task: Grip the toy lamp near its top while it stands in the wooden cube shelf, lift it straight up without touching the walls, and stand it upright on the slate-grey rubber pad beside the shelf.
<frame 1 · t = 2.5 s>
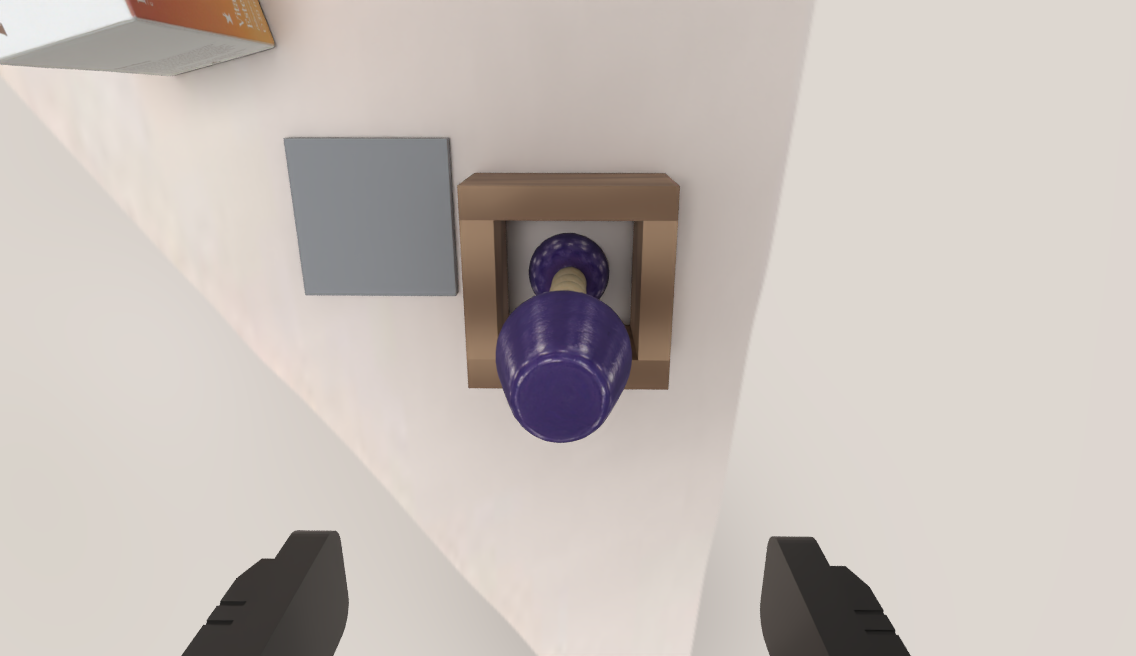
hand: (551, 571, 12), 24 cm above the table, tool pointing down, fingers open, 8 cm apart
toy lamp: (569, 265, 35), resting in wooden cube shelf
slate pad: (376, 218, 34), on the table
wooden cube shelf: (569, 266, 34), on the table
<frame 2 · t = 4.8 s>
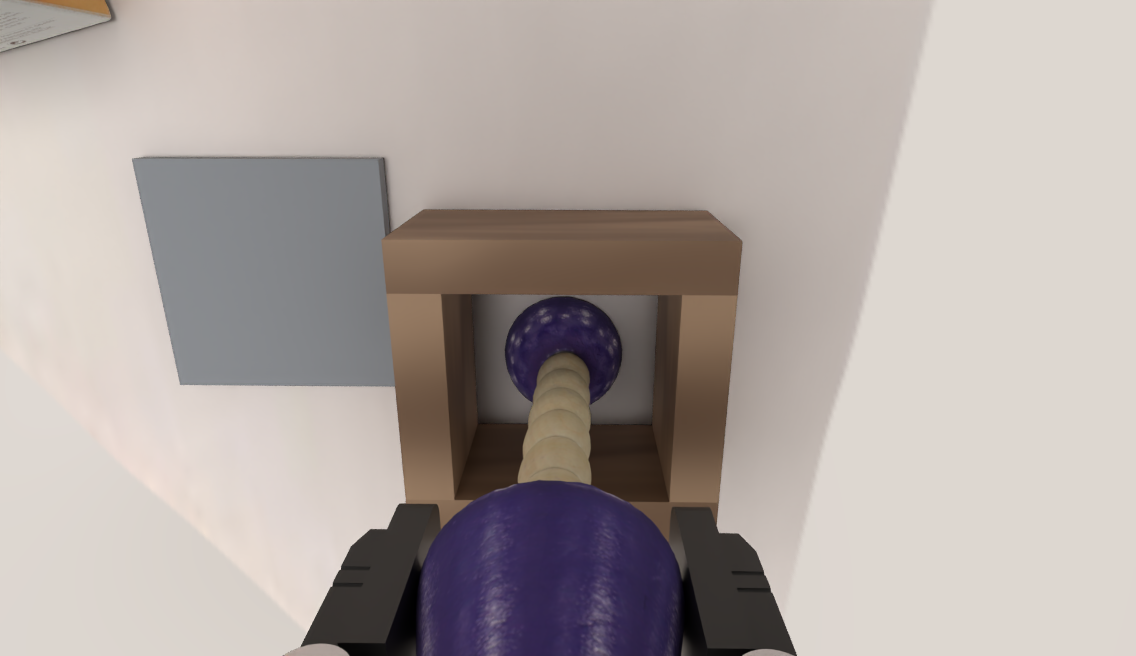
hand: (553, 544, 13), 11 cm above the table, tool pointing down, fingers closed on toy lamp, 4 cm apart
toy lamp: (564, 341, 24), resting in wooden cube shelf, touching gripper
slate pad: (280, 274, 23), on the table
wooden cube shelf: (564, 342, 24), on the table
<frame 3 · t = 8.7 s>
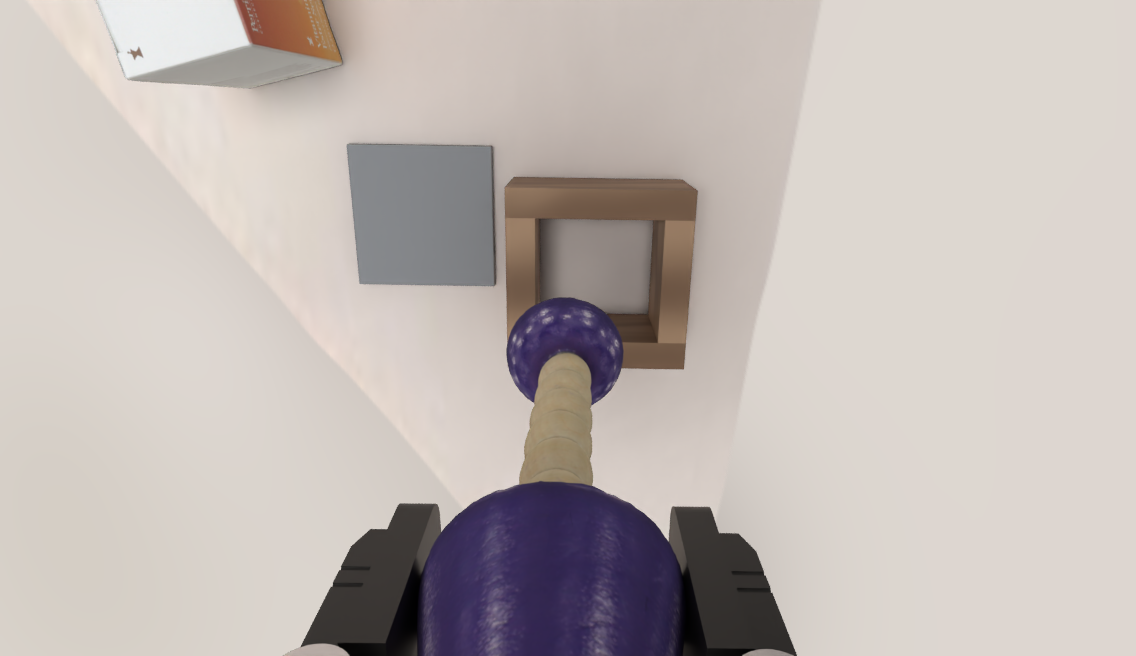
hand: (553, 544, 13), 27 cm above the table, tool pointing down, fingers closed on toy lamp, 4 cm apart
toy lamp: (566, 341, 24), point 16 cm above the table, touching gripper
slate pad: (425, 216, 38), on the table
wooden cube shelf: (595, 260, 39), on the table
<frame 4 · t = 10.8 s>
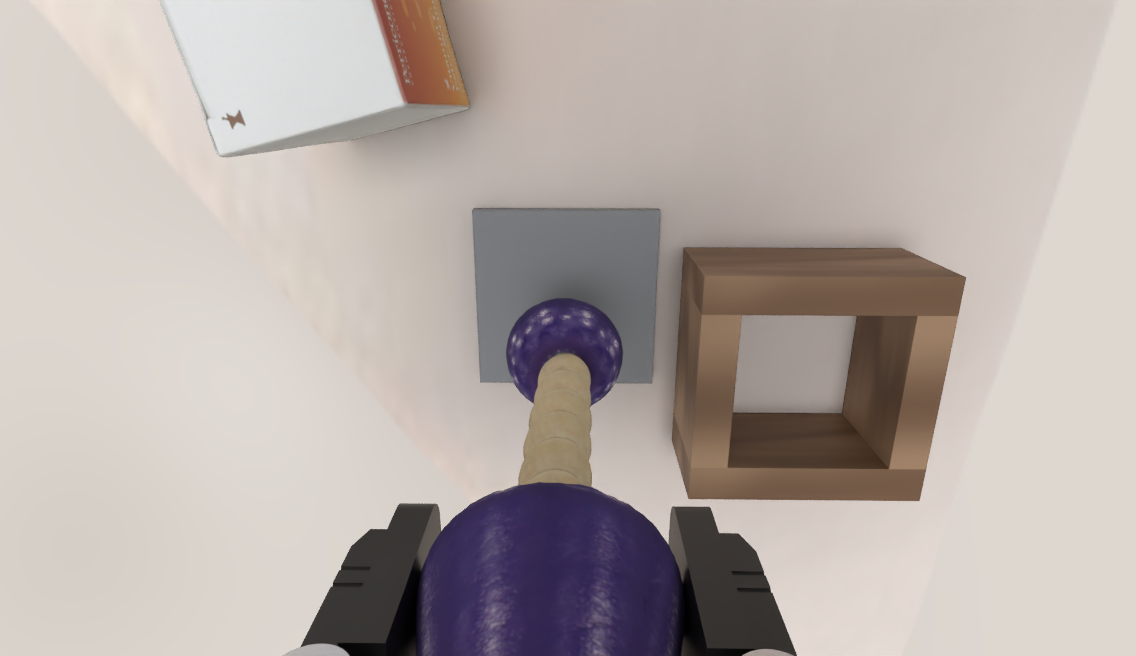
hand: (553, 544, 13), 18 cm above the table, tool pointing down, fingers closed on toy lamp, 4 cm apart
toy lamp: (565, 342, 24), point 6 cm above the table, touching gripper
slate pad: (566, 296, 30), on the table
wooden cube shelf: (780, 349, 30), on the table
small box: (379, 24, 26), on the table
when the fingers open (13 cm above the table, at t = 12.5 s): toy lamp stays where it is, resting on slate pad.
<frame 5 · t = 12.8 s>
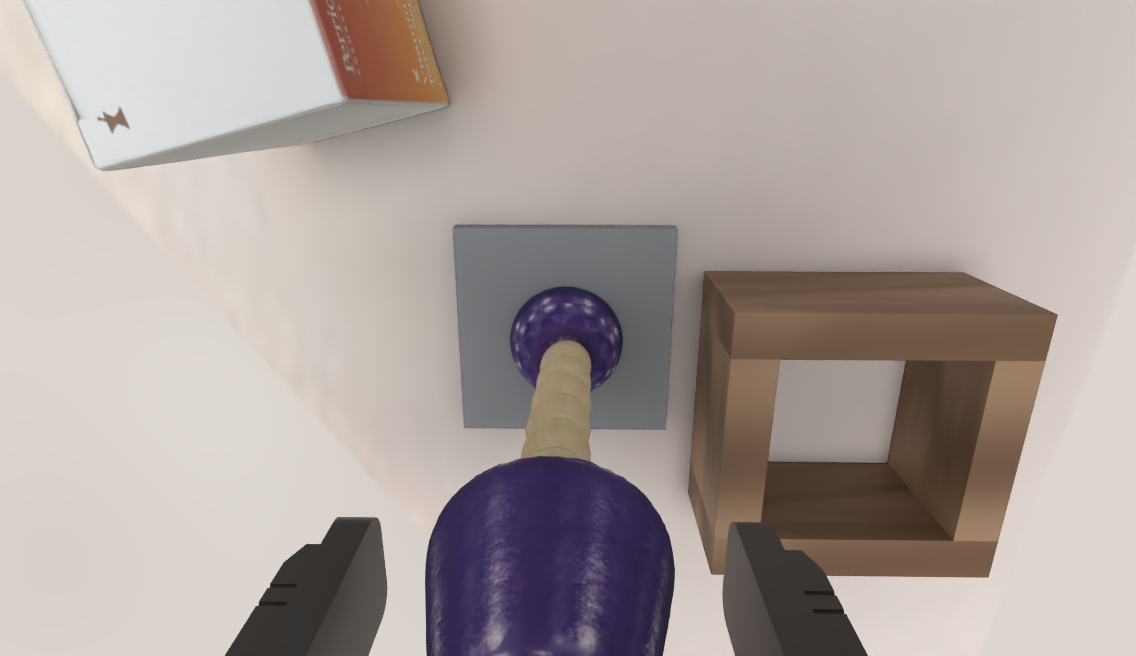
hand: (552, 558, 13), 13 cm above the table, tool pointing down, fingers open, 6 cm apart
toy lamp: (567, 329, 25), resting on slate pad
slate pad: (565, 328, 25), on the table
wooden cube shelf: (817, 389, 26), on the table
small box: (338, 4, 22), on the table
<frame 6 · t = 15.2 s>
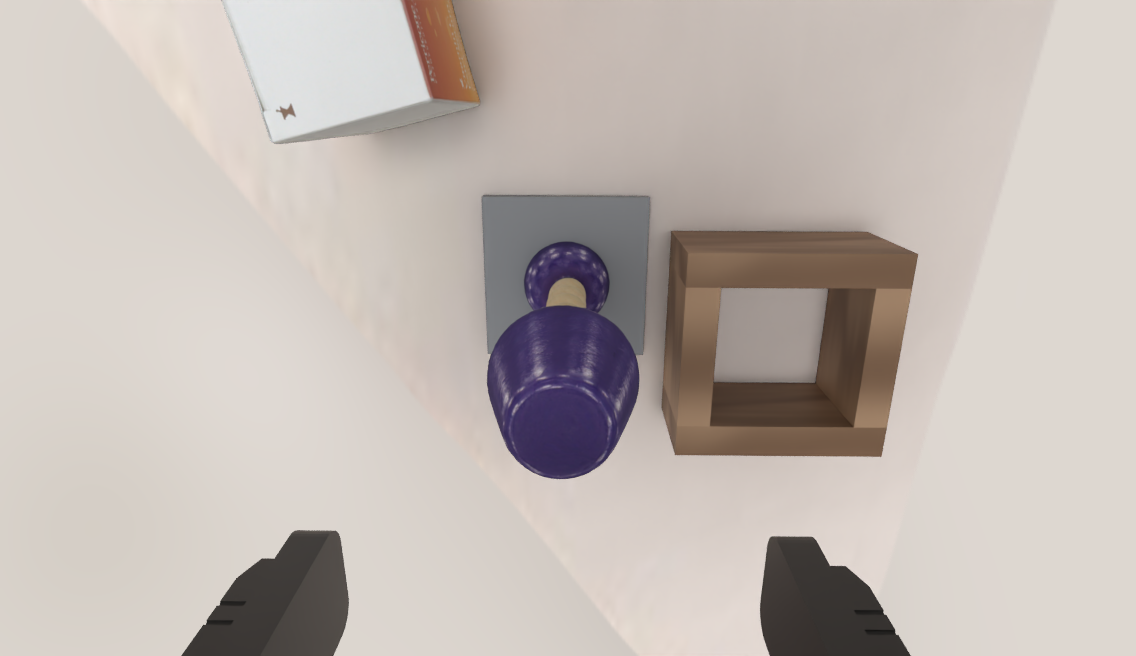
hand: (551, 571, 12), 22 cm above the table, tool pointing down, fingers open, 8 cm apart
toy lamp: (567, 275, 32), resting on slate pad
slate pad: (565, 275, 33), on the table
wooden cube shelf: (759, 324, 34), on the table
small box: (399, 30, 29), on the table
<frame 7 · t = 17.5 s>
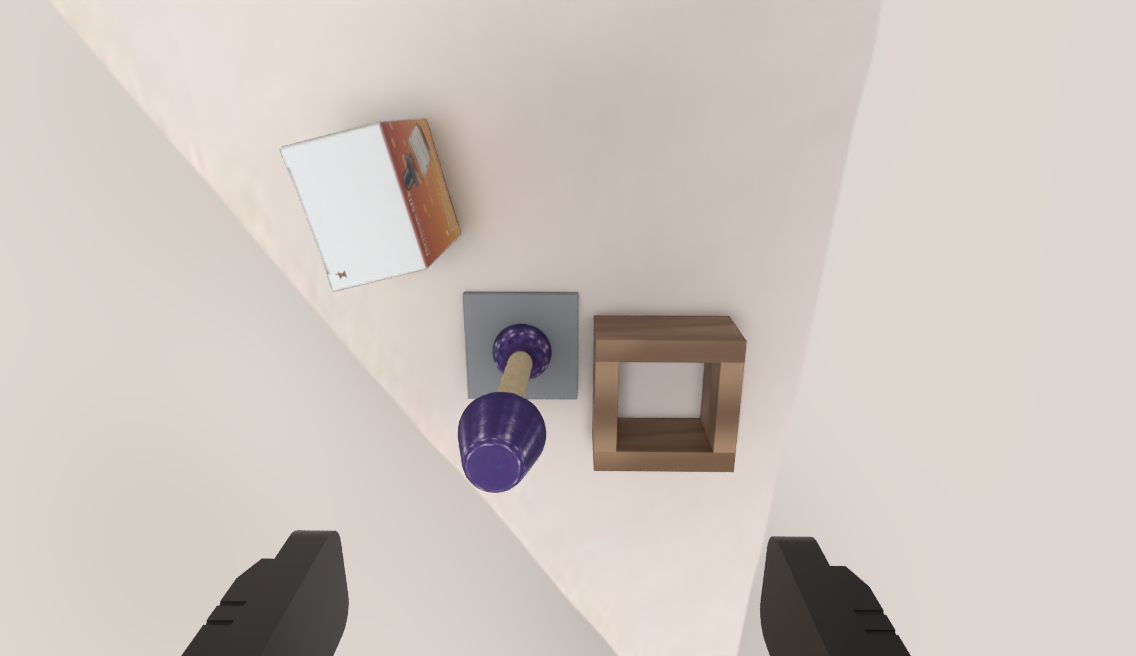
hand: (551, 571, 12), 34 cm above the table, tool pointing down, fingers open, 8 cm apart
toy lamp: (522, 345, 47), resting on slate pad
slate pad: (521, 345, 47), on the table
wooden cube shelf: (658, 377, 48), on the table
small box: (406, 186, 44), on the table
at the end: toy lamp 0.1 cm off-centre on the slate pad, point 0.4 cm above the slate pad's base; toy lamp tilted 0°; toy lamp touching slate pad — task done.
